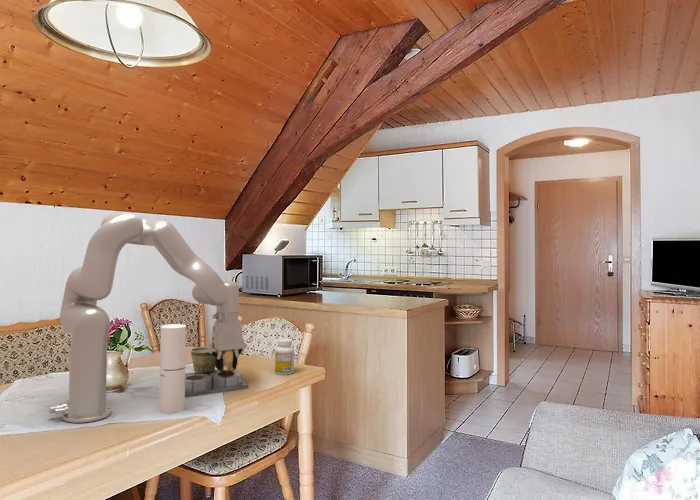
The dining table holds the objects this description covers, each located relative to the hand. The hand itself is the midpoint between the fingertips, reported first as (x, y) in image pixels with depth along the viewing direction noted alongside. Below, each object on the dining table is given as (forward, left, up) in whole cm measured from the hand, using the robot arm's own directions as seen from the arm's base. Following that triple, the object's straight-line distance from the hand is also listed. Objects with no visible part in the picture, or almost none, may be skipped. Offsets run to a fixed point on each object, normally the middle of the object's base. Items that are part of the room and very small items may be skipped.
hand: (226, 368), depth 178 cm
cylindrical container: (-23, -16, -6) cm, 28 cm away
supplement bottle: (+25, +6, -6) cm, 27 cm away
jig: (-6, 0, -6) cm, 8 cm away
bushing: (0, 0, -2) cm, 2 cm away
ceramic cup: (-2, +15, -6) cm, 16 cm away
